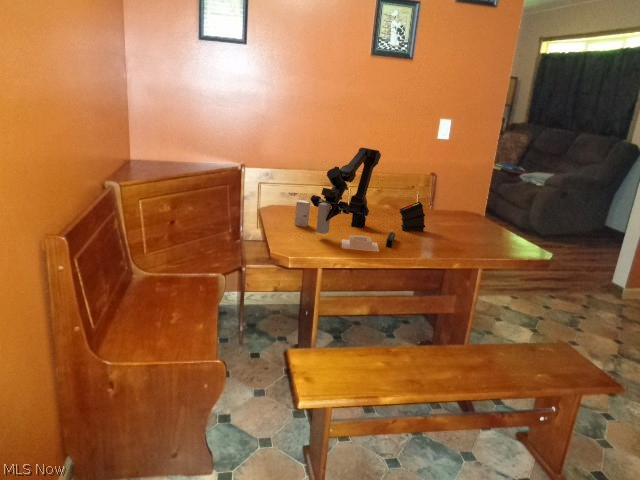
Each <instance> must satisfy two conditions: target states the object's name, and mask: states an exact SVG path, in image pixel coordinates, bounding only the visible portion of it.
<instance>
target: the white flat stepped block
mask: <svg viewBox="0 0 640 480" xmlns="http://www.w3.org/2000/svg"><path fill="white" fill-rule="evenodd" d="M341 249H345V250H346V249H347V250H355V251H365V252H366V251H368V252H380V249H379V245H378V242H373V240H372V237H370V236H366V235H357V234H354V235H351V234H350V235H349V239H341Z"/></svg>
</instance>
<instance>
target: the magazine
mask: <svg viewBox="0 0 640 480" xmlns="http://www.w3.org/2000/svg"><path fill="white" fill-rule="evenodd" d="M423 207H424V205H423V204H422V202H421V201H417V202H414V203H412V204H410V205H407V206H404V207H402V208H399V213H400V214H401V218H400V220H401V223H402V224H401V230H402V232H416V233H417V232H419V233H424V230H425V228H426V224H425V216H426V214H425V212H424V208H423Z"/></svg>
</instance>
